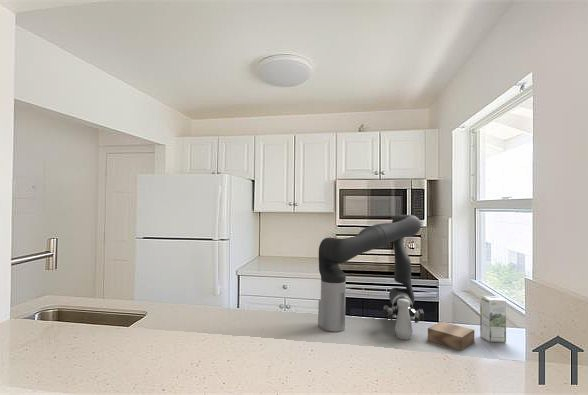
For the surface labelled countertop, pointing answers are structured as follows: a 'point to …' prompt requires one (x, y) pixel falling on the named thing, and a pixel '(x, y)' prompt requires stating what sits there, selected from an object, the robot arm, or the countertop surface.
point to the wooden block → (451, 335)
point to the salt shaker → (403, 320)
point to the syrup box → (493, 318)
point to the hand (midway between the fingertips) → (403, 318)
